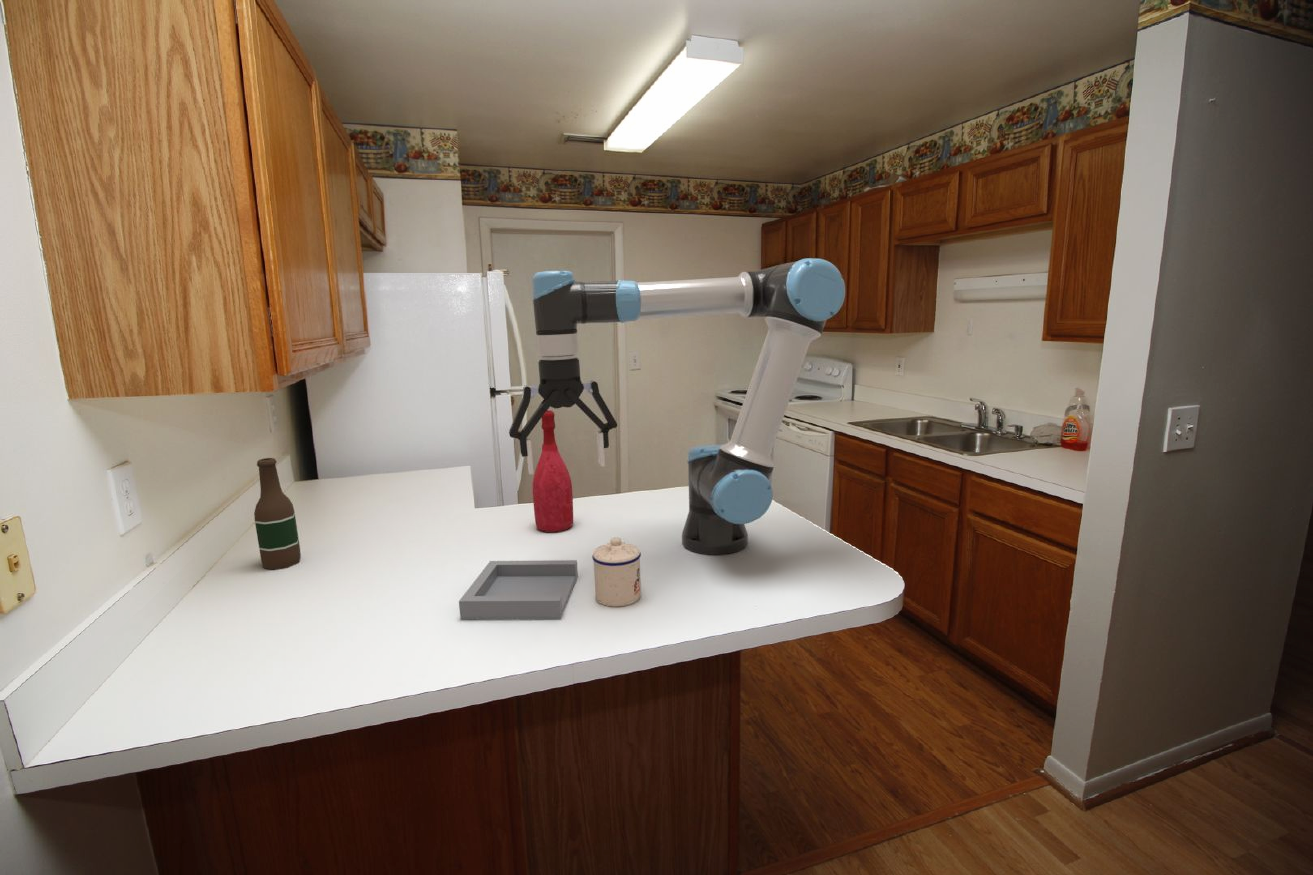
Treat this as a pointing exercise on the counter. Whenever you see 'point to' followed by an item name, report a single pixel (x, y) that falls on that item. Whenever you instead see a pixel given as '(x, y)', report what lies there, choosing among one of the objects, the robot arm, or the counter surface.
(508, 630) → the counter surface
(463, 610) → the shallow gray tray
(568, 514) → the wine bottle
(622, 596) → the teacup with lid
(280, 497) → the beer bottle
